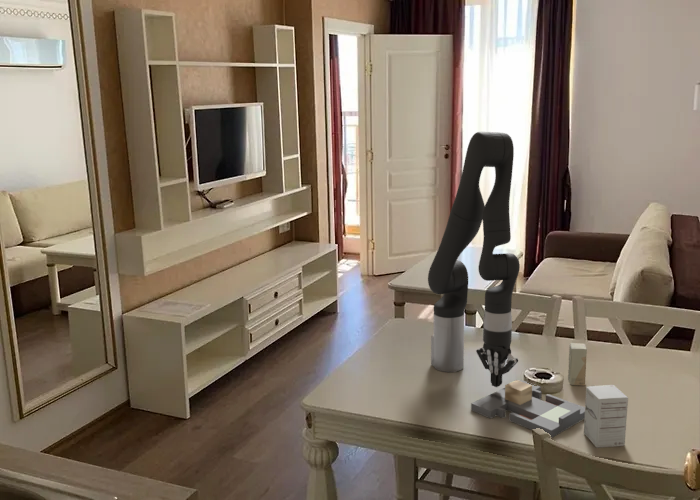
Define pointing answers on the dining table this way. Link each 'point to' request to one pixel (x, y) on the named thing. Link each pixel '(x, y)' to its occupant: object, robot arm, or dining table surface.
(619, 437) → the supplement box
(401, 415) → the dining table surface
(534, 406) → the track
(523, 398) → the block
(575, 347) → the box
